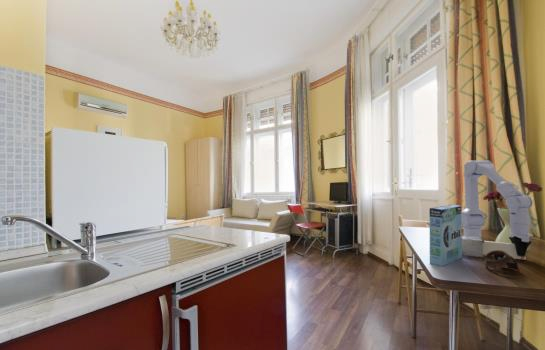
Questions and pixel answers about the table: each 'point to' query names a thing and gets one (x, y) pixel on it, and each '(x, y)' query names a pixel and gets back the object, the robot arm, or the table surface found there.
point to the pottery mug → (501, 260)
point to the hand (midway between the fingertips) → (519, 255)
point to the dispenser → (472, 246)
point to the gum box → (445, 234)
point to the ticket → (501, 248)
